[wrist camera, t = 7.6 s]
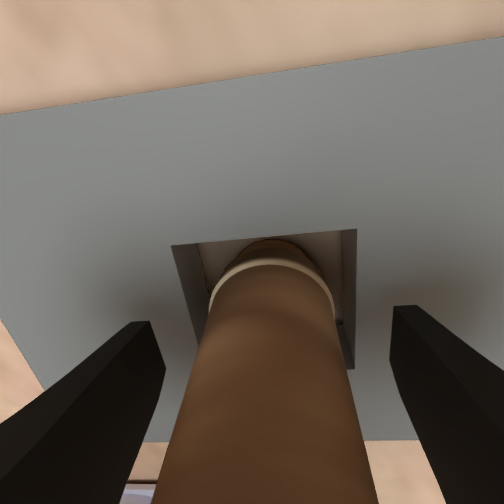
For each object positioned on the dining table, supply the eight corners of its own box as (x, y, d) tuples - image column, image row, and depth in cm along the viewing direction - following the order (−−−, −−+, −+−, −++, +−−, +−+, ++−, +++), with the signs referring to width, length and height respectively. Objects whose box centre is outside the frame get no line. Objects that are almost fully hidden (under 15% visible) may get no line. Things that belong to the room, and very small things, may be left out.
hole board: (102, 397, 17) (76, 442, 15) (-36, 123, 11) (-114, 133, 9) (501, 386, 15) (541, 439, 13) (615, 23, 9) (735, 0, 6)
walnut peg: (233, 320, 14) (175, 619, 6) (210, 236, 12) (85, 506, 4) (329, 310, 14) (401, 629, 6) (319, 219, 12) (405, 502, 4)
